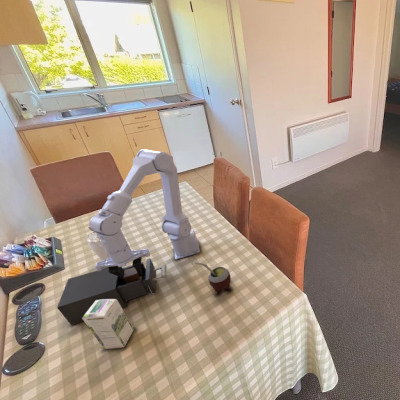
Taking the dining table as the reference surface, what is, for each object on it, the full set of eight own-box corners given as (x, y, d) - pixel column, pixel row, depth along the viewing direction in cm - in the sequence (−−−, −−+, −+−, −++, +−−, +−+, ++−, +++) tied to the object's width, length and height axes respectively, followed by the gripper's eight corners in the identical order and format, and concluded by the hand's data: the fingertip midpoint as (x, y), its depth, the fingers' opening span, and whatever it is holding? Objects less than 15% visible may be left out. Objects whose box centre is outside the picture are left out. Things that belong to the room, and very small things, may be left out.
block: (141, 274, 95) (137, 265, 93) (141, 281, 92) (137, 273, 90) (128, 278, 93) (124, 269, 91) (127, 286, 90) (123, 277, 88)
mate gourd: (236, 283, 96) (228, 252, 89) (223, 300, 90) (213, 268, 82) (219, 278, 98) (210, 247, 91) (205, 294, 92) (194, 263, 84)
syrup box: (115, 331, 81) (94, 299, 74) (135, 329, 81) (116, 297, 74) (104, 349, 76) (79, 317, 69) (125, 347, 76) (103, 315, 69)
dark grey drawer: (168, 267, 103) (163, 254, 99) (169, 288, 94) (163, 274, 90) (114, 284, 96) (106, 271, 92) (109, 308, 87) (100, 294, 83)
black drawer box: (129, 280, 98) (119, 263, 94) (125, 306, 89) (115, 288, 84) (80, 296, 93) (68, 278, 88) (71, 325, 83) (56, 307, 78)
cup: (112, 267, 104) (98, 243, 98) (93, 264, 106) (78, 240, 100) (130, 252, 112) (119, 229, 106) (112, 249, 114) (100, 226, 107)
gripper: (86, 262, 79) (106, 293, 86) (142, 247, 85) (156, 277, 91) (91, 248, 84) (109, 278, 91) (143, 235, 90) (157, 264, 97)
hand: (133, 277), depth 92 cm, fingers closed on block, 4 cm apart
